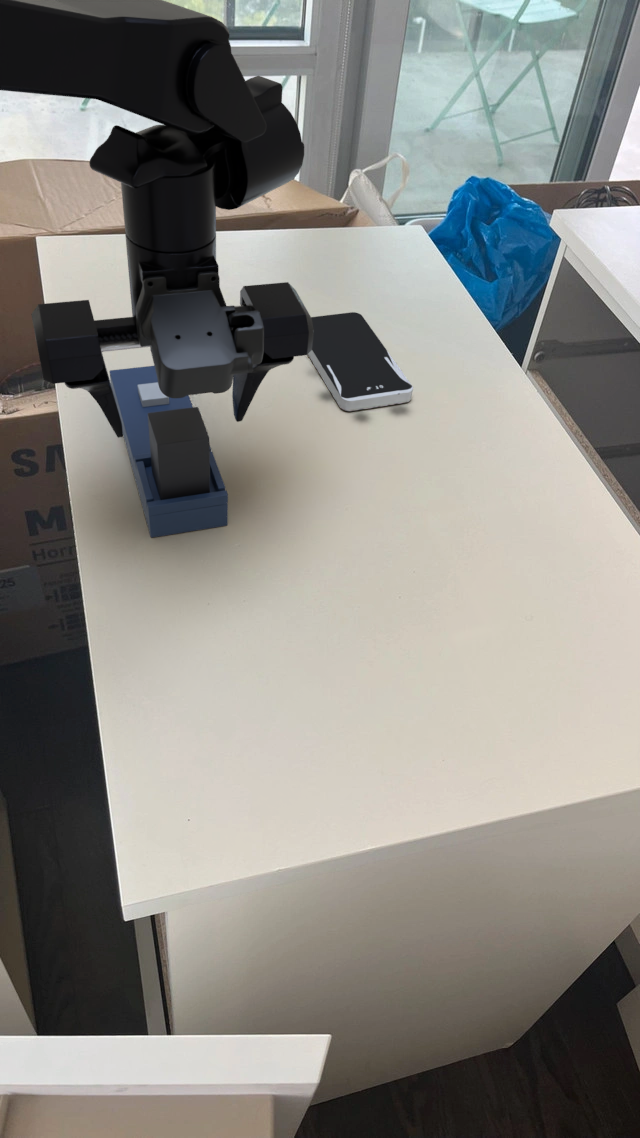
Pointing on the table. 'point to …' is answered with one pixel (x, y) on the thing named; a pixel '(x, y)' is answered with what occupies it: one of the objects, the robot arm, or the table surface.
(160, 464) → the block
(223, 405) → the table surface
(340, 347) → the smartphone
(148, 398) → the blue long open box
